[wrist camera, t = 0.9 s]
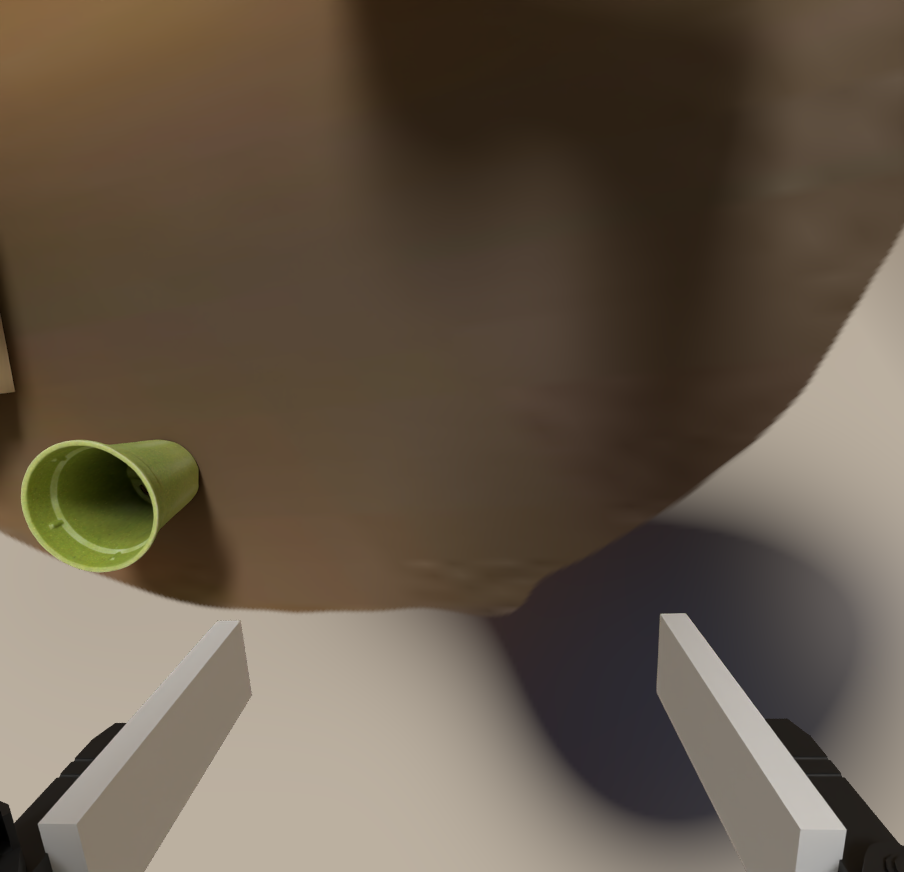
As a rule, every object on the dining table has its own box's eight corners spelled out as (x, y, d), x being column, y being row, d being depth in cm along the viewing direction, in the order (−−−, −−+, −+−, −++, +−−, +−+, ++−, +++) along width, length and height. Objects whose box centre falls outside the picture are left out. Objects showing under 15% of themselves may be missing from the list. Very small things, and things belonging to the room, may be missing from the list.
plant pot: (161, 395, 40) (79, 411, 32) (243, 479, 42) (184, 516, 33) (90, 467, 42) (-7, 501, 34) (170, 546, 43) (96, 597, 35)
